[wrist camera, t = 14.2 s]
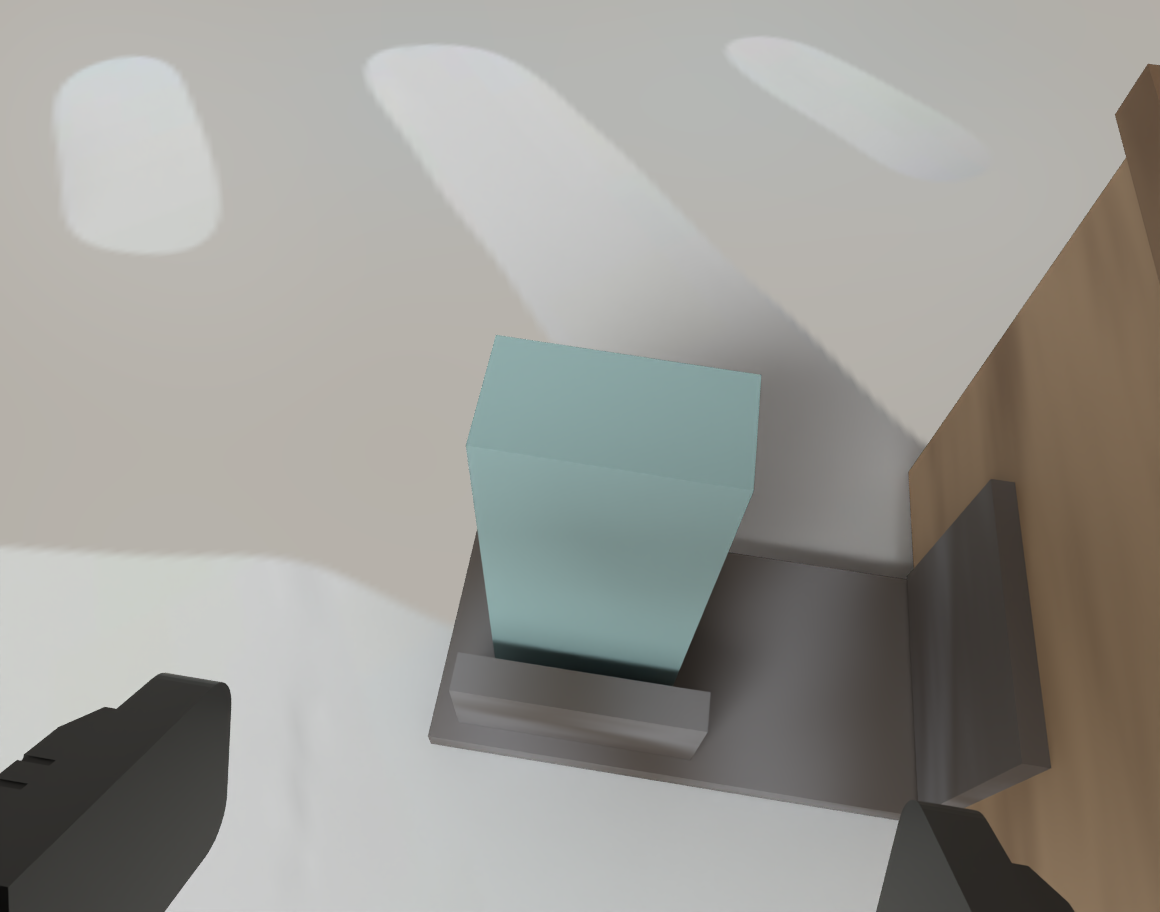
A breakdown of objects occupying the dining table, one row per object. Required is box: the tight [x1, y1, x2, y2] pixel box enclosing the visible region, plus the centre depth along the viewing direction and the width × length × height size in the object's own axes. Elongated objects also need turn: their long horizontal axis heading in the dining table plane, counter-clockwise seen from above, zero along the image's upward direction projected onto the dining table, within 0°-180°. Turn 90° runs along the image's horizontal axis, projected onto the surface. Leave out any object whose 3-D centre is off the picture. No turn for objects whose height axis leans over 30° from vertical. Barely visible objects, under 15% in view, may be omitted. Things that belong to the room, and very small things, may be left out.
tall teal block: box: [466, 335, 761, 686], centre depth 21 cm, size 5×3×12 cm
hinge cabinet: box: [428, 64, 1160, 912], centre depth 20 cm, size 22×17×15 cm
